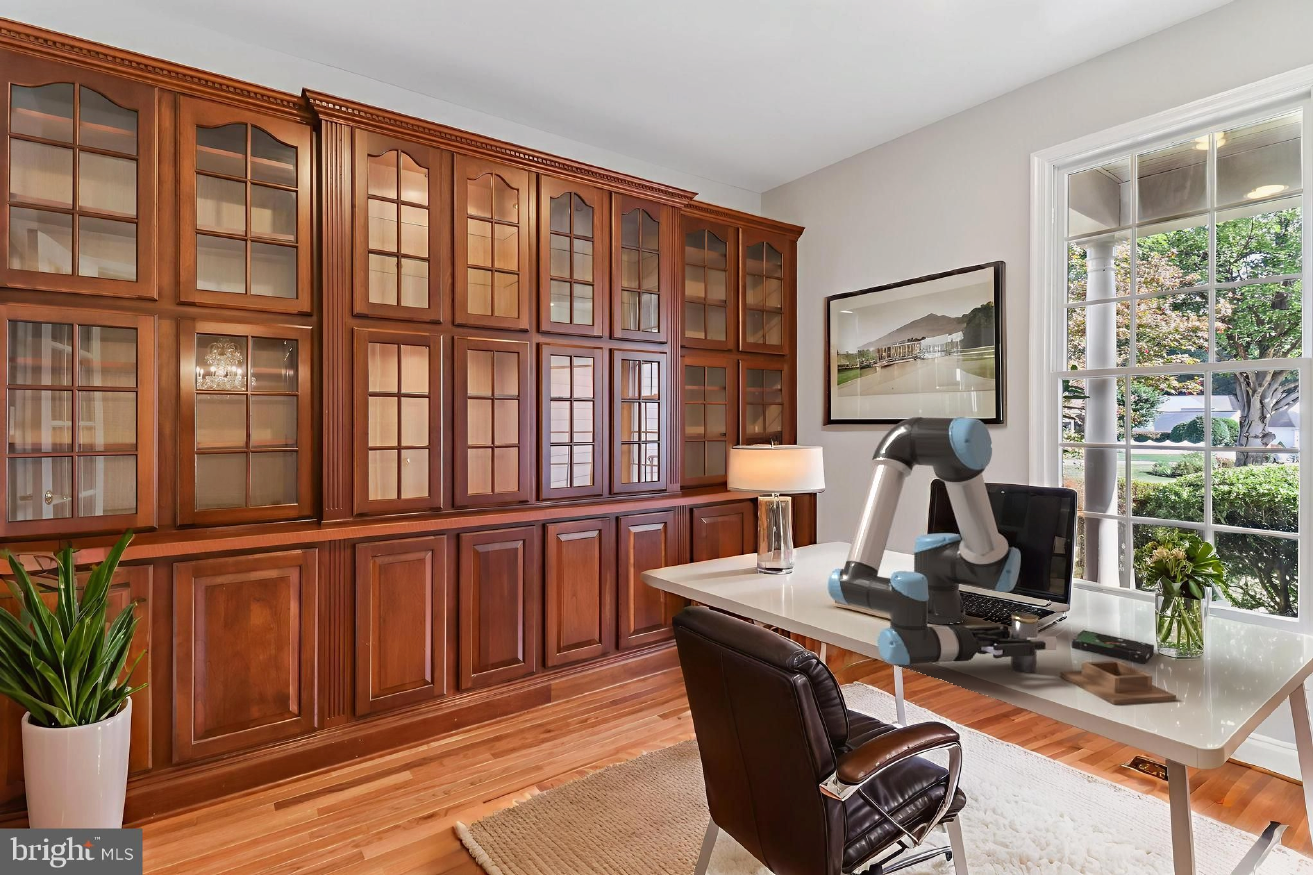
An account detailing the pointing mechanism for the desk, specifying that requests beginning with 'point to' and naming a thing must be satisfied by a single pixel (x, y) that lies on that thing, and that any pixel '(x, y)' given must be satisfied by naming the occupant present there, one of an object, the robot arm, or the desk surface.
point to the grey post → (1023, 629)
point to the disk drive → (1113, 647)
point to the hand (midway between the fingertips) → (1045, 638)
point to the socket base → (1117, 683)
